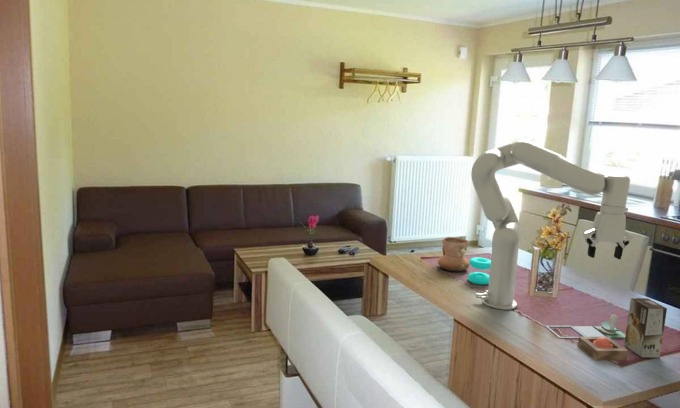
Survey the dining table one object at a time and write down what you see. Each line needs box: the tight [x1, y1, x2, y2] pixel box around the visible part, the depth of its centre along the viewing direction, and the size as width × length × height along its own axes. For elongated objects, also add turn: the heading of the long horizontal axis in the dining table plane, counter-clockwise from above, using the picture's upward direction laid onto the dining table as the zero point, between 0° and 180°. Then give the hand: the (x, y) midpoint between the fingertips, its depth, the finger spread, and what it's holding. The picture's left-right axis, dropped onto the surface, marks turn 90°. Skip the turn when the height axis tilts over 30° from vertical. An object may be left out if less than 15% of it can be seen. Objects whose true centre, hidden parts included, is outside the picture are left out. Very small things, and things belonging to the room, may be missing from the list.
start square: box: [545, 325, 586, 340], centre depth 175 cm, size 10×10×1 cm
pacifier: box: [598, 313, 623, 334], centre depth 177 cm, size 7×6×6 cm
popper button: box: [593, 337, 613, 348], centre depth 161 cm, size 6×6×4 cm
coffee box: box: [623, 297, 668, 358], centre depth 162 cm, size 9×6×16 cm
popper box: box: [577, 336, 629, 361], centre depth 161 cm, size 10×10×3 cm
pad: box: [593, 325, 626, 339], centre depth 177 cm, size 7×9×1 cm
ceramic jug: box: [437, 236, 471, 272], centre depth 243 cm, size 18×14×14 cm
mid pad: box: [572, 325, 607, 337], centre depth 176 cm, size 7×9×1 cm
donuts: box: [467, 256, 491, 286], centre depth 225 cm, size 10×10×10 cm
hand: (604, 257), depth 182 cm, fingers open, 9 cm apart
